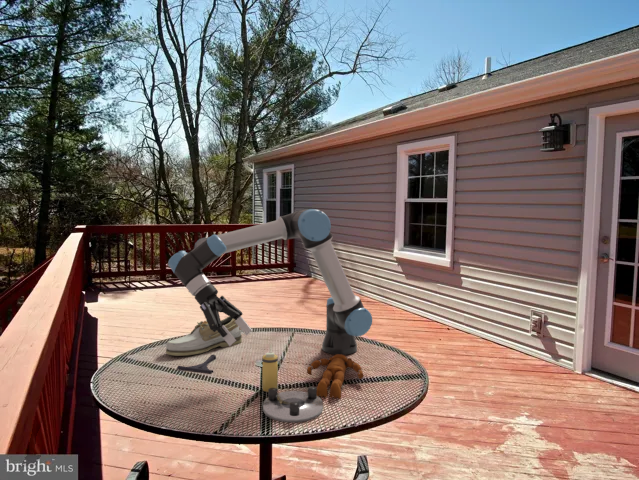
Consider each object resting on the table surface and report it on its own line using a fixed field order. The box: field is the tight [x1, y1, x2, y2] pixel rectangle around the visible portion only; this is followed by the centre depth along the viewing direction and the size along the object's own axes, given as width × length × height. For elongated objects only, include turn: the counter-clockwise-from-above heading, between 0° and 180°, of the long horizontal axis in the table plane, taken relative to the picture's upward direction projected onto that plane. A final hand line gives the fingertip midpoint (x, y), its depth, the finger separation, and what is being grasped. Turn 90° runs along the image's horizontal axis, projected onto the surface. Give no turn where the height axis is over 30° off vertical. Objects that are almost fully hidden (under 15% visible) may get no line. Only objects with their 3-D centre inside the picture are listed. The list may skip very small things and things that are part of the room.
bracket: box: [176, 354, 217, 375], centre depth 165 cm, size 14×15×3 cm
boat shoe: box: [165, 316, 243, 357], centre depth 186 cm, size 13×36×12 cm, turn 139°
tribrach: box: [262, 385, 324, 423], centre depth 129 cm, size 18×18×4 cm
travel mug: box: [261, 352, 279, 393], centre depth 142 cm, size 5×5×12 cm
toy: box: [306, 354, 364, 399], centre depth 151 cm, size 20×7×30 cm
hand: (241, 337), depth 145 cm, fingers open, 13 cm apart
